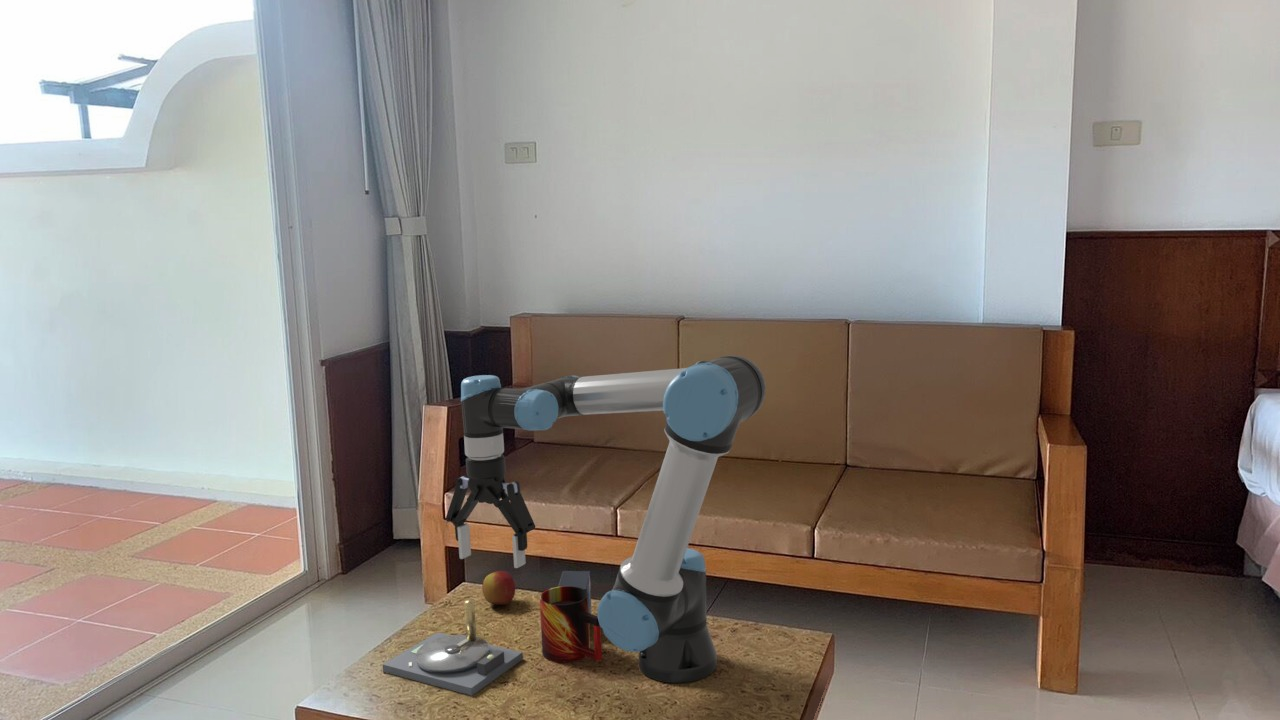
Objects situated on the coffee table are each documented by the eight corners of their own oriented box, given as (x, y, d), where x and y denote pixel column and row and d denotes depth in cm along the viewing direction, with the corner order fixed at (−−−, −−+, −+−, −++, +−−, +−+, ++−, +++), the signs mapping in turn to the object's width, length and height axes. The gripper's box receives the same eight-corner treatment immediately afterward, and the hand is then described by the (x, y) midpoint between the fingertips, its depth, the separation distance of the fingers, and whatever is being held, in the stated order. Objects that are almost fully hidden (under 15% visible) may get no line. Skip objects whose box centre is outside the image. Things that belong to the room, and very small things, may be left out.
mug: (601, 667, 180) (598, 608, 178) (535, 660, 184) (532, 603, 182) (616, 645, 189) (613, 589, 188) (552, 639, 193) (550, 584, 192)
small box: (589, 635, 194) (587, 588, 193) (558, 636, 194) (556, 589, 193) (592, 615, 205) (590, 569, 203) (563, 615, 205) (561, 570, 203)
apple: (521, 598, 215) (519, 565, 214) (509, 612, 207) (508, 578, 206) (490, 597, 217) (488, 564, 215) (477, 611, 209) (475, 577, 208)
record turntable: (522, 659, 185) (521, 639, 184) (471, 695, 171) (470, 674, 170) (437, 638, 195) (436, 620, 195) (383, 671, 181) (381, 651, 181)
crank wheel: (503, 648, 185) (500, 604, 184) (457, 678, 173) (454, 632, 172) (448, 635, 192) (446, 593, 191) (401, 663, 180) (398, 618, 179)
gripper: (549, 455, 177) (555, 563, 180) (448, 446, 189) (455, 547, 191) (526, 465, 170) (532, 576, 173) (422, 455, 182) (430, 559, 185)
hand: (492, 561), depth 182 cm, fingers open, 13 cm apart
